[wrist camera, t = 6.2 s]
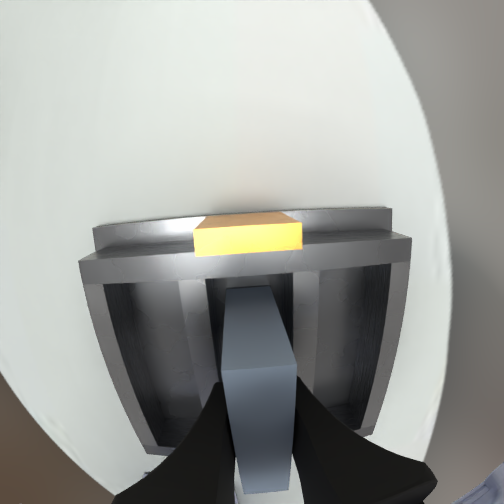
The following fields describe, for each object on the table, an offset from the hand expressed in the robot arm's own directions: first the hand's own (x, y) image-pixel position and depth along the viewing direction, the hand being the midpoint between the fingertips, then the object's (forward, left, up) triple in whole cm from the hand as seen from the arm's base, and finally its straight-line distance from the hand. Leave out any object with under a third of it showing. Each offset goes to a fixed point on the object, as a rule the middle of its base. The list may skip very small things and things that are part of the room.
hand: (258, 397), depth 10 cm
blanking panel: (0, 0, -3) cm, 3 cm away
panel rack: (0, 0, -4) cm, 4 cm away
